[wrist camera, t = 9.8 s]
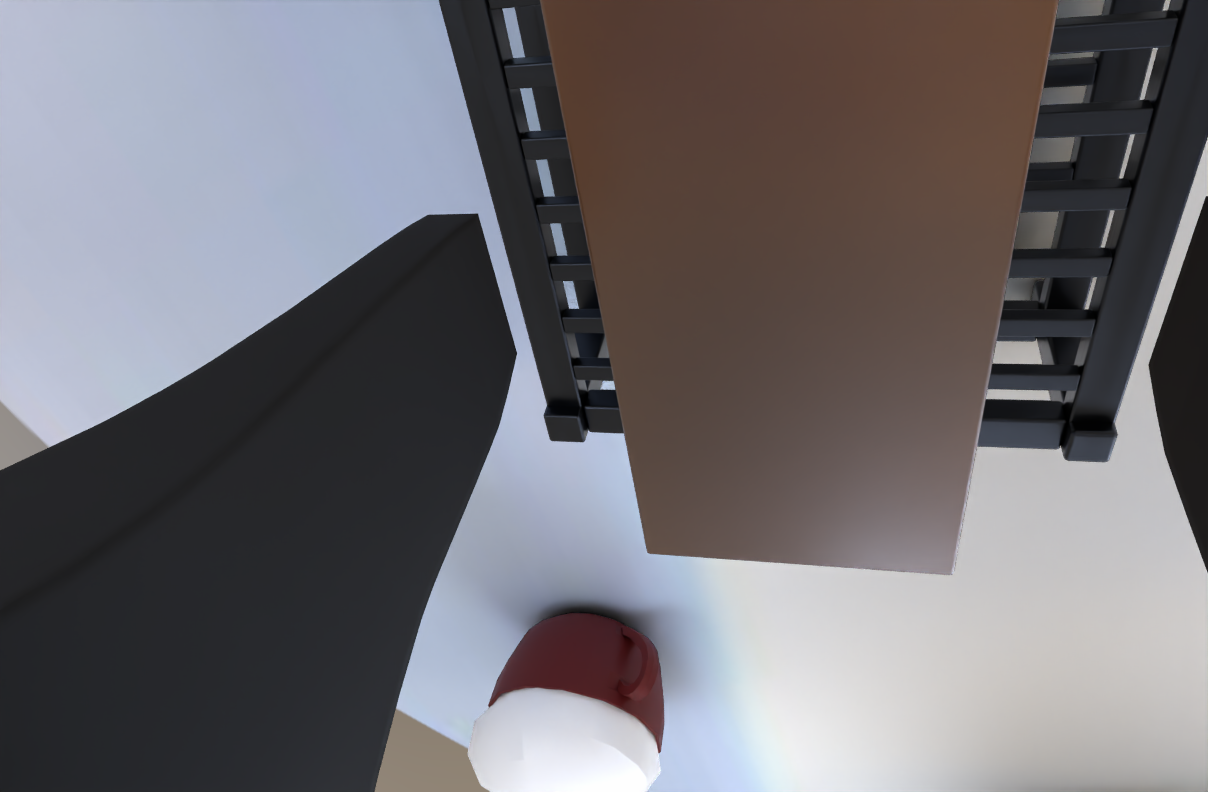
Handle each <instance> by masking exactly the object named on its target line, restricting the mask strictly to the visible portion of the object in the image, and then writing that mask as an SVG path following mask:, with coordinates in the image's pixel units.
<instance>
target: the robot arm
mask: <svg viewBox="0 0 1208 792" xmlns="http://www.w3.org/2000/svg"><path fill="white" fill-rule="evenodd" d="M516 356H517V352H516V348H515V345H514V341H513V337H512V334H511V330H510V327H509V323H508V320H507V316H506V312H505V309H504V305H503V302H502V298H501V295H500V291H499V287H498V284H497V280H496V277H495V273H494V270H493V266H492V263H491V259H490V255H489V252H488V248H487V245H486V241H485V238H484V234H483V230H482V227H481V223H480V220H479V216H478V214H446V215H427V216H425V217H424V218H422V219H420V220H418V221H416V222H415V223H413V224H411V225H410V226H408V227H406V228H405V229H403V230H402V231H400V232H399V233H397V234H396V235H394V236H393V237H391V238H390V239H388V240H387V241H385V242H384V243H382V244H381V245H380V246H378V247H377V248H375V249H374V250H373V251H371V252H370V253H368V254H367V255H365V256H364V257H363V258H361V259H360V260H358V261H357V262H356V263H354V264H353V265H351V266H350V267H349V268H347V269H346V270H344V271H343V272H342V273H340V274H339V275H337V276H336V277H335V278H333V279H332V280H330V281H329V282H328V283H326V284H325V285H323V286H322V287H321V288H319V289H318V290H316V291H315V292H314V293H312V294H311V295H309V296H308V297H307V298H305V299H304V300H302V301H301V302H299V303H298V304H297V305H295V306H294V307H292V308H291V309H290V310H288V311H287V312H285V313H284V314H282V315H281V316H279V317H278V318H276V319H275V320H273V321H271V322H270V323H268V324H267V325H265V326H264V327H262V328H261V329H259V330H258V331H256V332H255V333H253V334H252V335H250V336H249V337H247V338H246V339H244V340H243V341H241V342H240V343H238V344H237V345H235V346H233V347H232V348H230V349H229V350H227V351H226V352H224V353H223V354H221V355H220V356H218V357H217V358H215V359H214V360H212V361H211V362H209V363H207V364H206V365H204V366H202V367H201V368H199V369H197V370H196V371H194V372H193V373H191V374H189V375H187V376H186V377H184V378H182V379H181V380H179V381H177V382H175V383H174V384H172V385H170V386H169V387H167V388H165V389H163V390H162V391H160V392H158V393H156V394H154V395H152V396H151V397H149V398H147V399H145V400H143V401H141V402H140V403H138V404H136V405H134V406H132V407H130V408H129V409H127V410H125V411H123V412H121V413H119V414H118V415H116V416H114V417H112V418H110V419H108V420H106V421H104V422H102V423H100V424H98V425H96V426H94V427H92V428H90V429H88V430H86V431H83V432H81V433H79V434H77V435H75V436H73V437H71V438H69V439H66V440H64V441H62V442H60V443H58V444H56V445H54V446H51V447H49V448H47V449H45V450H43V451H41V452H39V453H37V454H34V455H32V456H30V457H28V458H26V459H24V460H22V461H20V462H17V463H15V464H13V465H11V466H9V467H7V468H5V469H2V470H0V792H374V791H375V787H376V782H377V778H378V774H379V770H380V767H381V763H382V759H383V755H384V751H385V747H386V743H387V740H388V736H389V732H390V728H391V725H392V721H393V717H394V713H395V709H396V706H397V702H398V698H399V694H400V691H401V687H402V684H403V680H404V677H405V674H406V670H407V667H408V663H409V660H410V656H411V653H412V650H413V646H414V643H415V639H416V636H417V632H418V629H419V626H420V622H421V619H422V616H423V613H424V610H425V608H426V605H427V602H428V600H429V597H430V594H431V591H432V589H433V586H434V583H435V581H436V578H437V576H438V573H439V571H440V569H441V566H442V564H443V561H444V559H445V557H446V554H447V552H448V549H449V547H450V545H451V542H452V540H453V537H454V535H455V533H456V530H457V528H458V525H459V523H460V521H461V518H462V516H463V513H464V511H465V509H466V506H467V504H468V501H469V499H470V497H471V494H472V492H473V489H474V487H475V485H476V482H477V480H478V477H479V475H480V472H481V470H482V467H483V465H484V463H485V460H486V458H487V455H488V453H489V450H490V448H491V445H492V443H493V440H494V438H495V435H496V432H497V430H498V427H499V424H500V420H501V417H502V413H503V409H504V406H505V402H506V398H507V394H508V390H509V386H510V382H511V377H512V373H513V369H514V364H515V360H516ZM1149 371H1150V377H1151V383H1152V389H1153V394H1154V400H1155V406H1156V412H1157V417H1158V422H1159V427H1160V432H1161V437H1162V442H1163V446H1164V451H1165V455H1166V458H1167V461H1168V463H1169V466H1170V469H1171V472H1172V475H1173V478H1174V481H1175V484H1176V487H1177V489H1178V492H1179V495H1180V498H1181V501H1182V503H1183V506H1184V509H1185V512H1186V515H1187V517H1188V520H1189V523H1190V526H1191V529H1192V531H1193V534H1194V537H1195V539H1196V542H1197V545H1198V548H1199V550H1200V553H1201V556H1202V559H1203V561H1204V564H1205V567H1206V569H1207V572H1208V196H1206V198H1205V201H1204V204H1203V207H1202V210H1201V213H1200V216H1199V218H1198V221H1197V224H1196V227H1195V230H1194V233H1193V236H1192V239H1191V242H1190V245H1189V248H1188V251H1187V254H1186V257H1185V259H1184V262H1183V265H1182V268H1181V271H1180V274H1179V277H1178V280H1177V283H1176V286H1175V289H1174V292H1173V295H1172V297H1171V300H1170V303H1169V306H1168V309H1167V312H1166V315H1165V318H1164V321H1163V324H1162V327H1161V330H1160V333H1159V336H1158V338H1157V341H1156V344H1155V347H1154V350H1153V353H1152V356H1151V359H1150V362H1149Z"/></svg>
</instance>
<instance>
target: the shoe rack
mask: <svg viewBox="0 0 1208 792" xmlns="http://www.w3.org/2000/svg"><path fill="white" fill-rule="evenodd" d="M439 3H440V7H441V11H442V14H443V18H444V22H445V26H446V29H447V33H448V37H449V41H450V44H451V48H452V52H453V55H454V59H455V63H456V67H457V70H458V74H459V78H460V82H461V85H462V89H463V93H464V97H465V100H466V104H467V108H468V111H469V115H470V119H471V123H472V126H473V130H474V134H475V138H476V141H477V145H478V149H479V153H480V156H481V160H482V164H483V167H484V171H485V175H486V179H487V182H488V186H489V190H490V194H491V197H492V201H493V205H494V208H495V212H496V216H497V220H498V223H499V227H500V231H501V235H502V238H503V242H504V246H505V250H506V253H507V257H508V261H509V264H510V268H511V272H512V276H513V279H514V283H515V287H516V291H517V294H518V298H519V302H520V306H521V309H522V313H523V317H524V320H525V324H526V328H527V332H528V335H529V339H530V343H531V347H532V350H533V354H534V358H535V362H536V365H537V369H538V373H539V376H540V380H541V384H542V388H543V391H544V395H545V399H546V403H547V407H546V410H545V413H544V419H545V423H546V426H547V430H548V434H549V437H550V440H551V441H565V442H584V441H585V439H586V436H587V432H588V430H589V431H590V432H600V433H624V431H623V425H622V420H621V415H620V410H619V405H618V400H617V394H616V390H600V389H601V385H602V382H603V381H614V379H613V374H612V369H611V364H610V358H609V353H608V348H607V343H606V338H605V333H604V328H603V322H602V317H601V312H600V307H599V302H598V297H597V292H596V286H595V281H594V276H593V271H592V266H591V261H590V256H589V250H588V245H587V240H586V235H585V230H584V225H583V219H582V214H581V209H580V204H579V199H578V194H577V189H576V183H575V178H574V173H573V168H572V163H571V158H570V153H569V147H568V142H567V137H566V132H565V127H564V122H563V117H562V111H561V106H560V101H559V96H558V91H557V86H556V81H555V75H554V70H553V65H552V60H551V55H550V50H549V44H548V39H547V34H546V29H545V24H544V19H543V14H542V8H541V3H540V0H439ZM1164 3H1165V0H1105V3H1104V8H1103V12H1102V15H1099V16H1085V17H1071V18H1058V19H1056V20H1055V26H1054V31H1053V37H1052V42H1051V47H1050V53H1049V55H1051V54H1067V53H1082V52H1094V54H1093V57H1088V58H1072V59H1056V60H1048V64H1047V69H1046V75H1045V80H1044V85H1043V88H1049V87H1067V86H1085V85H1087V86H1086V91H1085V95H1084V100H1083V103H1076V104H1056V105H1040V107H1039V113H1038V118H1037V124H1036V129H1035V134H1034V138H1058V137H1075V141H1074V146H1073V150H1072V155H1071V159H1070V162H1046V163H1029V167H1028V172H1027V178H1026V183H1025V189H1024V194H1023V200H1022V205H1021V210H1020V212H1057V211H1059V215H1058V219H1057V224H1056V228H1055V233H1054V238H1053V242H1052V247H1051V249H1013V254H1012V259H1011V265H1010V270H1009V276H1008V278H1045V279H1044V280H1039V281H1036V282H1035V284H1034V288H1033V293H1032V298H1031V300H1004V303H1003V308H1002V314H1001V319H1000V325H999V330H998V336H997V341H1035V340H1036V338H1037V342H1038V346H1039V351H1040V355H1041V359H1042V364H992V368H991V374H990V379H989V384H988V389H1010V390H1049V395H1050V399H1051V401H1044V400H1003V399H986V401H985V406H984V412H983V417H982V422H981V428H980V433H979V439H978V444H977V446H979V447H1006V448H1033V449H1059V448H1060V446H1061V448H1062V452H1063V456H1064V458H1065V460H1068V461H1086V462H1107V461H1109V459H1110V456H1111V453H1112V450H1113V447H1114V444H1115V441H1116V438H1117V435H1118V434H1117V430H1116V427H1115V421H1116V418H1117V415H1118V411H1119V408H1120V405H1121V402H1122V399H1123V396H1124V393H1125V390H1126V387H1127V384H1128V381H1129V378H1130V375H1131V371H1132V368H1133V365H1134V362H1135V359H1136V356H1137V353H1138V350H1139V347H1140V344H1141V341H1142V338H1143V334H1144V331H1145V328H1146V325H1147V322H1148V319H1149V316H1150V313H1151V310H1152V307H1153V304H1154V301H1155V297H1156V294H1157V291H1158V288H1159V285H1160V282H1161V279H1162V276H1163V273H1164V270H1165V267H1166V264H1167V261H1168V257H1169V254H1170V251H1171V248H1172V245H1173V242H1174V239H1175V236H1176V233H1177V230H1178V227H1179V224H1180V220H1181V217H1182V214H1183V211H1184V208H1185V205H1186V202H1187V199H1188V196H1189V193H1190V190H1191V187H1192V183H1193V180H1194V177H1195V174H1196V171H1197V168H1198V165H1199V162H1200V159H1201V156H1202V153H1203V150H1204V147H1205V143H1206V140H1207V137H1208V0H1171V1H1170V5H1169V8H1168V10H1167V11H1163V7H1164ZM512 7H515V11H516V16H517V21H518V25H519V30H520V35H521V39H522V44H523V49H524V53H525V57H523V58H513V56H512V51H511V47H510V42H509V38H508V33H507V29H506V24H505V20H504V15H503V11H502V8H512ZM1153 48H1158V50H1157V54H1156V57H1155V61H1154V65H1153V69H1152V72H1151V76H1150V80H1149V84H1148V87H1147V91H1146V95H1145V99H1144V100H1139V99H1140V95H1141V91H1142V88H1143V84H1144V80H1145V76H1146V72H1147V68H1148V65H1149V61H1150V57H1151V53H1152V49H1153ZM520 88H532V91H533V95H534V100H535V105H536V109H537V114H538V119H539V124H540V128H541V131H529V127H528V123H527V118H526V114H525V109H524V105H523V101H522V96H521V92H520ZM1130 134H1135V136H1134V140H1133V144H1132V148H1131V152H1130V155H1129V159H1128V163H1127V167H1126V170H1125V174H1124V178H1123V179H1119V176H1120V172H1121V168H1122V164H1123V160H1124V156H1125V153H1126V149H1127V145H1128V141H1129V137H1130ZM541 159H547V161H548V166H549V170H550V175H551V180H552V184H553V189H554V194H555V196H554V197H544V195H543V190H542V186H541V181H540V177H539V172H538V168H537V163H536V160H541ZM1110 210H1115V212H1114V216H1113V219H1112V223H1111V227H1110V231H1109V234H1108V238H1107V242H1106V246H1105V248H1101V244H1102V241H1103V237H1104V233H1105V229H1106V225H1107V221H1108V218H1109V214H1110ZM552 223H561V226H562V231H563V236H564V241H565V245H566V250H567V255H568V256H557V253H556V248H555V244H554V239H553V235H552V230H551V226H550V224H552ZM1093 277H1097V280H1096V283H1095V287H1094V291H1093V295H1092V299H1091V302H1090V306H1089V310H1084V309H1085V306H1086V302H1087V298H1088V294H1089V290H1090V287H1091V283H1092V279H1093ZM563 281H573V283H574V287H575V292H576V297H577V301H578V306H579V309H569V307H568V302H567V298H566V293H565V289H564V284H563Z"/></svg>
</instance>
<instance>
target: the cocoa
mask: <svg viewBox="0 0 1208 792" xmlns="http://www.w3.org/2000/svg"><path fill="white" fill-rule="evenodd" d="M488 706H489V708H488V709H487V710H486V711H485V712H484V713H483V714H482V715H481V716H480V717H479V718H478V719H477V720H475V722H474V727H473V731H472V736H471V740H470V745H469V750H468V756H469V758H470V761H471V763H472V766H473V768H474V771H475V773H476V776H477V778H478V780H479V783H480V785H481V786H482V787H484V788H485V789H487V790H489V791H491V792H646V791H647V790H648V789H649V787H650V786H651V785H652V784H653V782H654V781H655V779H656V778H657V777H658V775H659V774H660V773H661V768H660V762H659V755H658V753H660V752H661V745H662V738H663V730H664V698H663V689H662V679H661V669H660V664H659V658H658V653H657V650H656V648H655V646H654V644H653V643H652V642H651V641H650V640H649V638H647V637H646V636H644V635H642V634H641V633H639V632H637V631H636V630H634V629H632V628H630V627H627V626H625V625H624V624H622V623H620V622H618V621H616V620H614V619H611V618H607V617H603V616H599V615H595V614H592V613H568V614H564V615H559V616H556V617H552V618H549V619H546V620H543V621H541V622H539V623H538V624H537V625H535V626H534V627H532V628H531V629H529V630H528V632H527V633H526V635H525V636H524V637H523V639H522V640H521V641H520V643H519V644H518V646H517V647H516V649H515V651H514V652H513V654H512V655H511V657H510V658H509V660H508V661H507V663H506V665H505V667H504V669H503V670H502V672H501V674H500V676H499V678H498V680H497V683H496V685H495V688H494V691H493V693H492V696H491V699H490V702H489V705H488Z"/></svg>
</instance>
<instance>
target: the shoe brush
mask: <svg viewBox="0 0 1208 792" xmlns="http://www.w3.org/2000/svg"><path fill="white" fill-rule="evenodd" d="M540 3H541V8H542V14H543V19H544V24H545V29H546V34H547V39H548V44H549V50H550V55H551V60H552V65H553V70H554V75H555V81H556V86H557V91H558V96H559V101H560V106H561V111H562V117H563V122H564V127H565V132H566V137H567V142H568V147H569V153H570V158H571V163H572V168H573V173H574V178H575V183H576V189H577V194H578V199H579V204H580V209H581V214H582V219H583V225H584V230H585V235H586V240H587V245H588V250H589V256H590V261H591V266H592V271H593V276H594V281H595V286H596V292H597V297H598V302H599V307H600V312H601V317H602V322H603V328H604V333H605V338H606V343H607V348H608V353H609V358H610V364H611V369H612V374H613V379H614V384H615V389H616V394H617V400H618V405H619V410H620V415H621V420H622V425H623V431H624V436H625V441H626V446H627V451H628V456H629V461H630V467H631V472H632V477H633V482H634V487H635V492H636V497H637V503H638V508H639V513H640V518H641V523H642V528H643V533H644V539H645V544H646V549H647V552H648V553H650V554H661V555H675V556H689V557H703V558H717V559H731V560H745V561H760V562H774V563H788V564H802V565H816V566H830V567H844V568H858V569H872V570H887V571H901V572H915V573H929V574H943V575H952V574H953V573H954V569H955V564H956V558H957V553H958V547H959V542H960V537H961V531H962V526H963V520H964V515H965V509H966V504H967V499H968V493H969V488H970V482H971V477H972V471H973V466H974V461H975V455H976V450H977V444H978V439H979V433H980V428H981V422H982V417H983V412H984V406H985V401H986V395H987V390H988V384H989V379H990V374H991V368H992V363H993V357H994V352H995V346H996V341H997V336H998V330H999V325H1000V319H1001V314H1002V308H1003V303H1004V297H1005V292H1006V287H1007V281H1008V276H1009V270H1010V265H1011V259H1012V254H1013V249H1014V243H1015V238H1016V232H1017V227H1018V221H1019V216H1020V210H1021V205H1022V200H1023V194H1024V189H1025V183H1026V178H1027V172H1028V167H1029V162H1030V156H1031V151H1032V145H1033V140H1034V134H1035V129H1036V124H1037V118H1038V113H1039V107H1040V102H1041V96H1042V91H1043V85H1044V80H1045V75H1046V69H1047V64H1048V58H1049V53H1050V47H1051V42H1052V37H1053V31H1054V26H1055V20H1056V15H1057V9H1058V4H1059V0H540Z"/></svg>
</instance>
